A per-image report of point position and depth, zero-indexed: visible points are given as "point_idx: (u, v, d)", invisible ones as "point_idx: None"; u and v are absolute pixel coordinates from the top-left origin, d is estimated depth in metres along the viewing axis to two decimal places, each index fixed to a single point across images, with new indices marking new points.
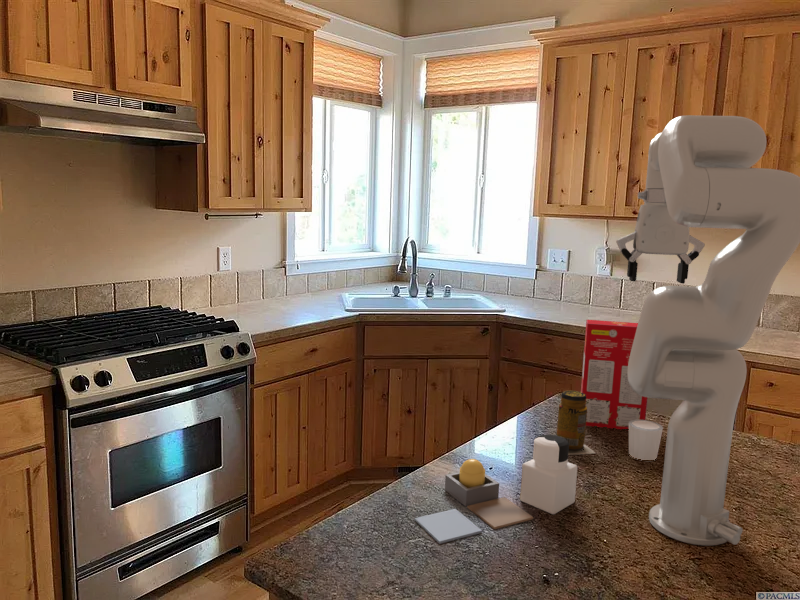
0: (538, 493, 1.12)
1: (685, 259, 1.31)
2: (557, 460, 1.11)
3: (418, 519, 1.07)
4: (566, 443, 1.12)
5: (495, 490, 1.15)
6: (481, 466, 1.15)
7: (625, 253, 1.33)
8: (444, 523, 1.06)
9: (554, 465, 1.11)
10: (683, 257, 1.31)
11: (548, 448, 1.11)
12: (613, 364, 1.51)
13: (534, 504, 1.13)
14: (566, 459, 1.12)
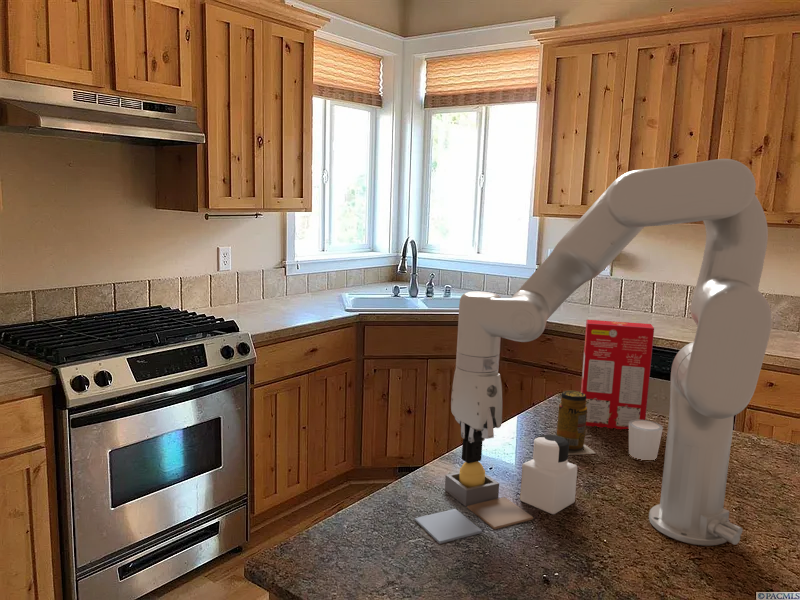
0: (538, 493, 1.12)
1: None
2: (557, 460, 1.11)
3: (418, 519, 1.07)
4: (566, 443, 1.12)
5: (495, 490, 1.15)
6: (481, 467, 1.15)
7: None
8: (444, 523, 1.06)
9: (554, 465, 1.11)
10: None
11: (548, 449, 1.11)
12: (613, 364, 1.51)
13: (534, 504, 1.13)
14: (566, 459, 1.12)
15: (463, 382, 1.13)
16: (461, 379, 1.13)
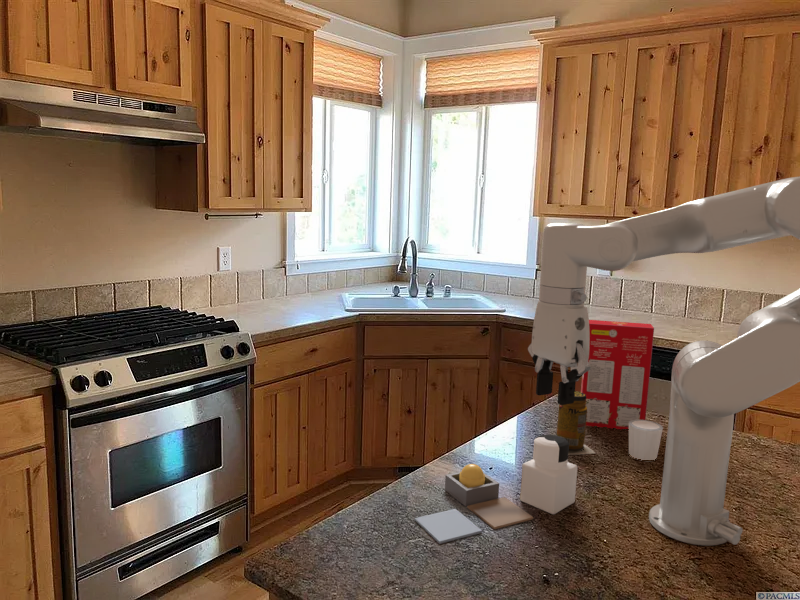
0: (538, 493, 1.12)
1: None
2: (557, 460, 1.11)
3: (418, 519, 1.07)
4: (566, 443, 1.12)
5: (495, 490, 1.15)
6: (481, 471, 1.16)
7: None
8: (444, 523, 1.06)
9: (554, 465, 1.11)
10: None
11: (548, 449, 1.11)
12: (613, 364, 1.51)
13: (534, 504, 1.13)
14: (566, 459, 1.12)
15: (548, 316, 1.09)
16: (545, 314, 1.09)
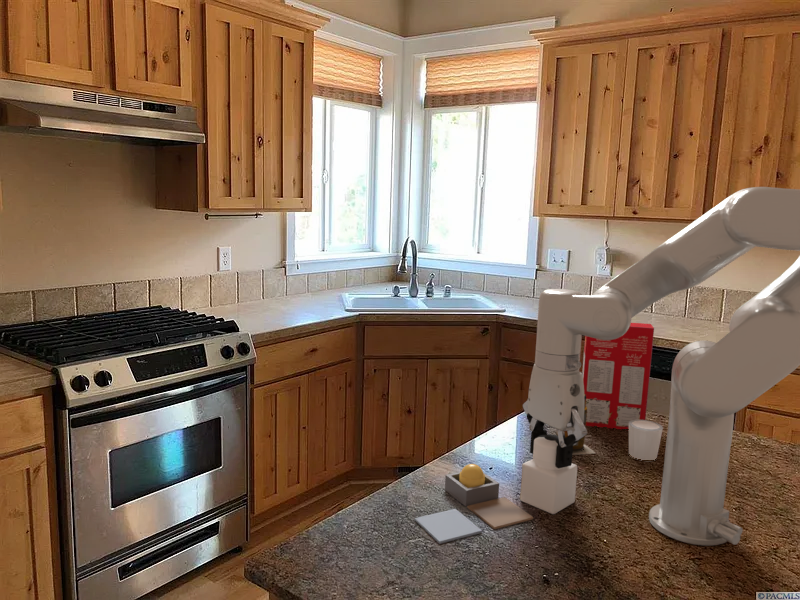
0: (538, 493, 1.12)
1: None
2: None
3: (418, 519, 1.07)
4: None
5: (495, 490, 1.15)
6: (481, 471, 1.16)
7: None
8: (444, 523, 1.06)
9: (554, 465, 1.11)
10: None
11: (548, 448, 1.11)
12: (613, 364, 1.51)
13: (534, 504, 1.13)
14: None
15: (543, 381, 1.11)
16: (541, 378, 1.11)
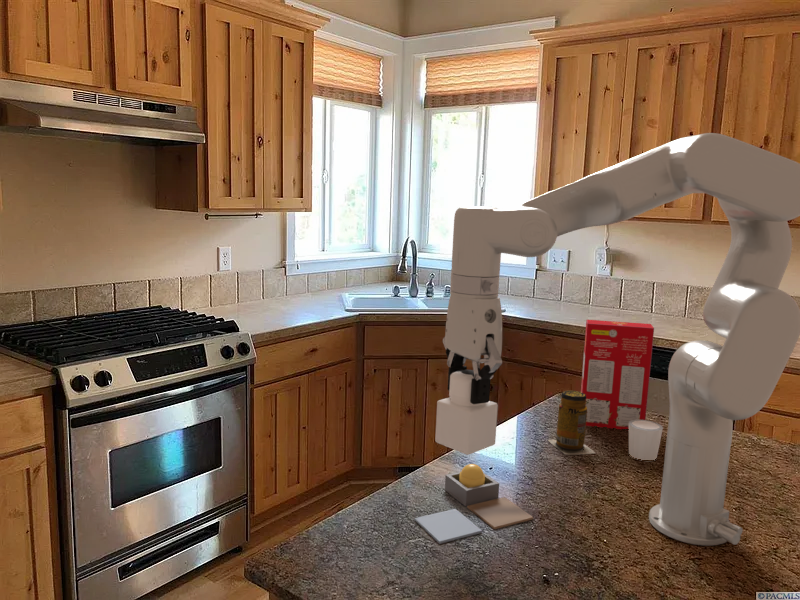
0: (453, 432, 1.02)
1: None
2: None
3: (418, 519, 1.07)
4: None
5: (495, 490, 1.15)
6: (481, 471, 1.16)
7: None
8: (444, 523, 1.06)
9: (469, 401, 1.00)
10: None
11: (463, 382, 1.00)
12: (613, 364, 1.51)
13: (448, 445, 1.02)
14: None
15: (458, 308, 1.00)
16: (456, 305, 1.01)
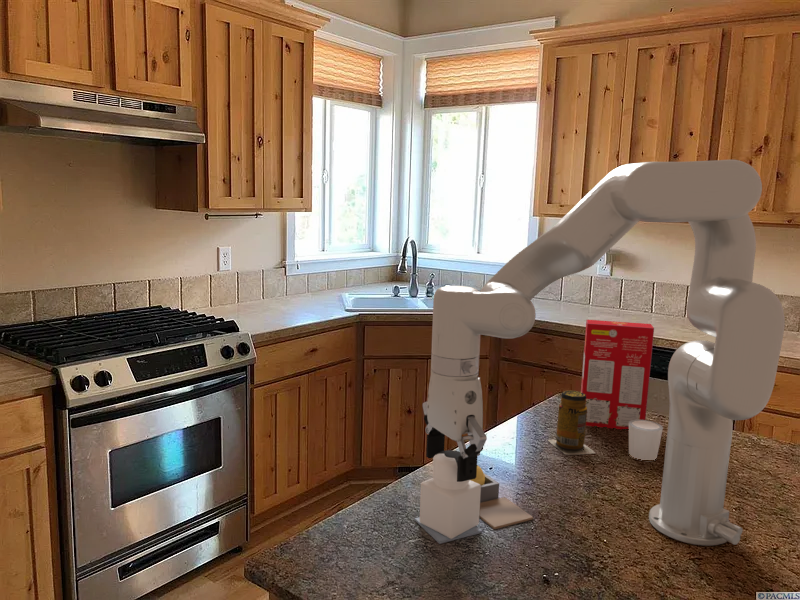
0: (436, 515, 1.02)
1: None
2: (456, 479, 1.01)
3: (418, 519, 1.07)
4: None
5: (495, 490, 1.15)
6: (481, 471, 1.16)
7: None
8: None
9: (452, 485, 1.01)
10: None
11: (446, 467, 1.01)
12: (613, 364, 1.51)
13: (432, 527, 1.03)
14: None
15: (439, 387, 1.01)
16: (437, 384, 1.01)
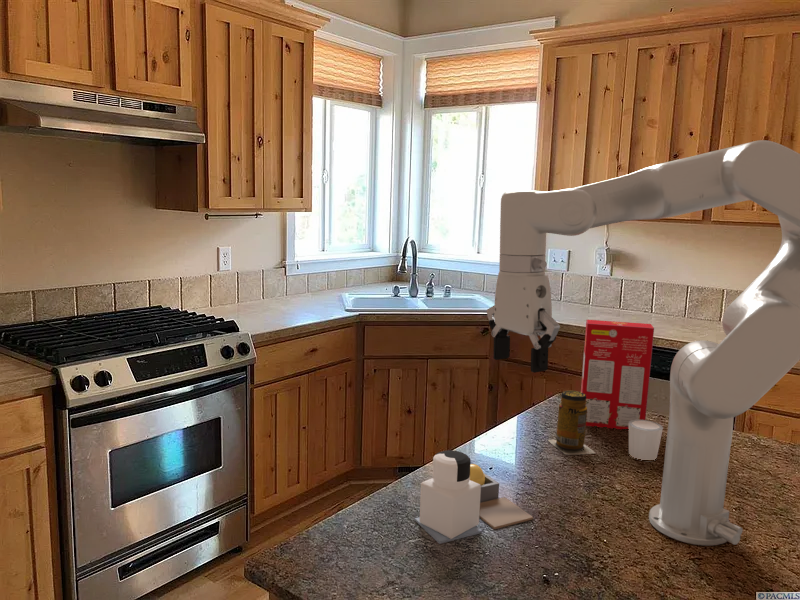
0: (436, 515, 1.02)
1: None
2: (456, 479, 1.01)
3: (418, 519, 1.07)
4: (467, 460, 1.02)
5: (495, 490, 1.15)
6: (481, 471, 1.16)
7: None
8: None
9: (452, 485, 1.01)
10: None
11: (446, 467, 1.01)
12: (613, 364, 1.51)
13: (432, 527, 1.03)
14: (466, 478, 1.02)
15: (509, 286, 1.07)
16: (506, 284, 1.07)
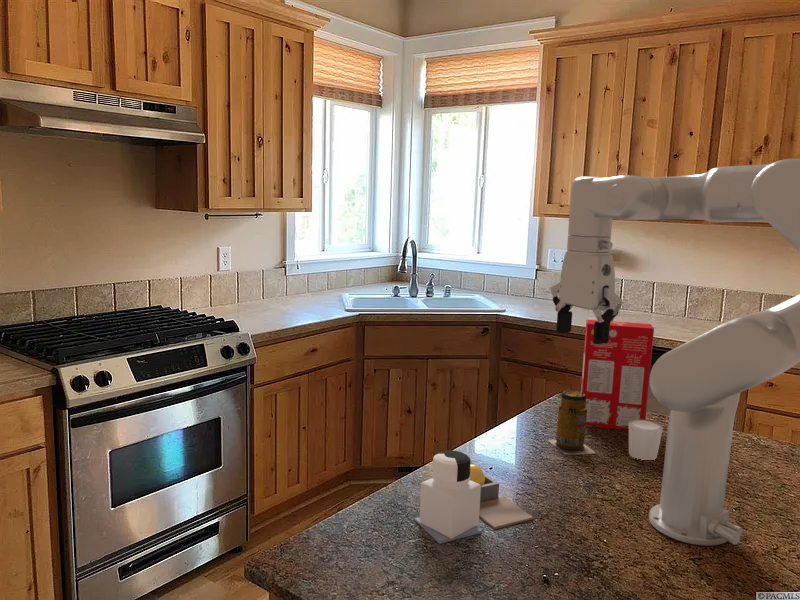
0: (436, 515, 1.02)
1: None
2: (456, 479, 1.01)
3: (418, 519, 1.07)
4: (467, 460, 1.02)
5: (495, 490, 1.15)
6: (481, 471, 1.16)
7: None
8: None
9: (452, 485, 1.01)
10: None
11: (446, 467, 1.01)
12: (613, 364, 1.51)
13: (432, 527, 1.03)
14: (466, 478, 1.02)
15: (575, 264, 1.16)
16: (573, 263, 1.17)
